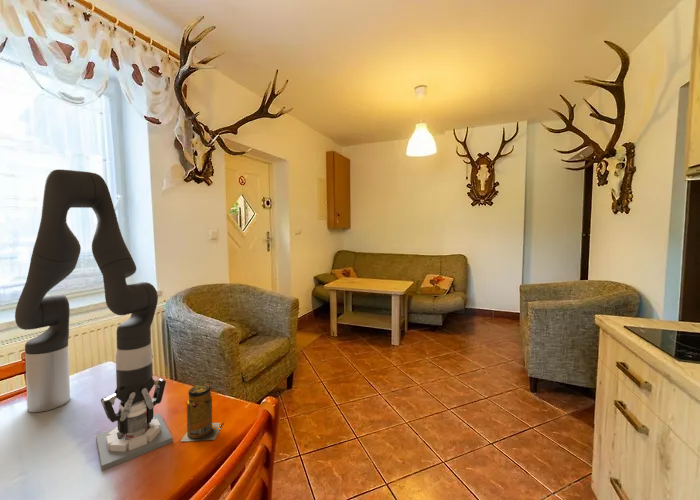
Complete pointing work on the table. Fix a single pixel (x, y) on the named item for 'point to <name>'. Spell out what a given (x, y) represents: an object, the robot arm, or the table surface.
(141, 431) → the pill bottle
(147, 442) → the socket board
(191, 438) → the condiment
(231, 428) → the table surface
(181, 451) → the table surface
